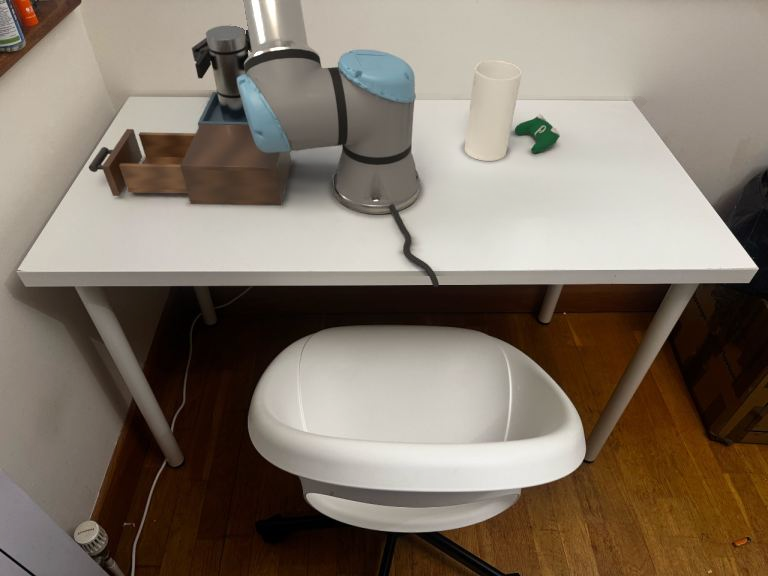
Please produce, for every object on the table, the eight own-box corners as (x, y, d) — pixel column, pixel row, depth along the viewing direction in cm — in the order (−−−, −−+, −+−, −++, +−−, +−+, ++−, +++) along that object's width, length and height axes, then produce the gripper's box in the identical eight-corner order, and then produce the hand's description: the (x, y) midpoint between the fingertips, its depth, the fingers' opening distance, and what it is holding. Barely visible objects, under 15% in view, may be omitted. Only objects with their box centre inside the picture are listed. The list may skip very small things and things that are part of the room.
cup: (514, 156, 109) (530, 76, 98) (476, 164, 107) (489, 83, 96) (493, 136, 115) (506, 57, 104) (457, 143, 113) (466, 64, 101)
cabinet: (190, 203, 97) (180, 165, 91) (208, 160, 106) (200, 124, 101) (281, 205, 97) (276, 167, 92) (291, 162, 107) (287, 125, 101)
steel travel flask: (264, 116, 118) (252, 33, 106) (235, 128, 114) (219, 43, 102) (244, 104, 122) (230, 22, 110) (215, 115, 118) (197, 31, 106)
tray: (277, 104, 123) (276, 93, 121) (267, 135, 113) (266, 124, 112) (215, 102, 123) (212, 91, 121) (200, 134, 113) (197, 123, 112)
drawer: (88, 195, 96) (75, 166, 92) (113, 156, 105) (103, 128, 101) (197, 197, 97) (190, 168, 92) (213, 158, 105) (207, 130, 101)
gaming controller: (541, 161, 112) (566, 139, 110) (532, 151, 109) (557, 128, 107) (520, 138, 118) (543, 117, 116) (511, 128, 115) (534, 106, 113)
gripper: (302, 47, 125) (284, 93, 109) (203, 44, 126) (172, 89, 110) (299, 12, 120) (280, 54, 104) (196, 8, 120) (162, 50, 104)
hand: (225, 72), depth 107 cm, fingers open, 9 cm apart
